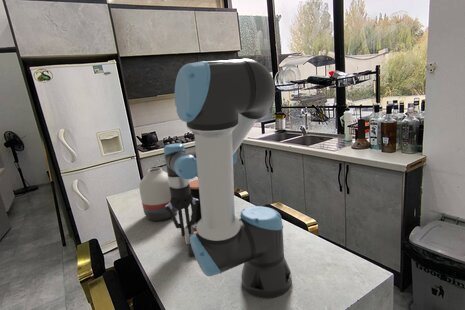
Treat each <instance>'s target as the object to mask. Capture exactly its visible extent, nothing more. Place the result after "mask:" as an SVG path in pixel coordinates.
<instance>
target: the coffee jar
mask: <svg viewBox="0 0 465 310" xmlns="http://www.w3.org/2000/svg"><path fill="white" fill-rule="evenodd" d="M189 184H190V190H191V195H192V197H193V198H195V199H196V198H197V199H198V200H199V204H198V206H197V211H196V219H195V222H199V220H200V219H201V206H200V194H199V183H198V179H195V180H191V181H189ZM192 207H193V203H192V202H191V204H190V210H191V211H192Z"/></svg>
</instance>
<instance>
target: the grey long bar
mask: <svg viewBox="0 0 465 310" xmlns="http://www.w3.org/2000/svg"><path fill="white" fill-rule="evenodd" d="M197 223H198V222H195V224H194V225H191V234H189V238H190V237H191V235H193V234H194V231H197ZM188 257H190V258H191V257H195V255H194V252H193V249H192V246H191V243H190V241H189V244H188Z"/></svg>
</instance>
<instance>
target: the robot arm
mask: <svg viewBox="0 0 465 310" xmlns="http://www.w3.org/2000/svg"><path fill="white" fill-rule="evenodd" d="M275 96H276V86H275V80H274V78H273V76H272V74H271V72H270V71H269V69H268V68H267V67H266V66H265V65H263V64H262V63H261V62H258V61H257V60H254V59H250V58H239V59H228V60H207V61H205V60H203V61H196V62H189V63H186V64H184V65H182V66H181V68H179V71H178V73H177V76H176V79H175V85H174V105H175V107H176V114H177V116H178V117H179V120H180V121H181V122H184V123H186V128H187V129H188V130H189V131H191V133H193V135H194V147H195V151H192V152H187V151H186V147H185V144H183V143H178V142H177V143H170V144H166V145H165V146H164V148H163V153H164V154H163V157H164V161H165V166H166V173H168V181H169V186H170V194H171V199H170V203H169V204H168V205H167V204H166V205H165V208H166V210H167V211H168V212H169V213H170V215H171V219H172V222H173V224H174V226H175V228H176V229H180V233H181V236H182V237H184V239H185V244H186V245H189V241H190V243H191V246H192V249H193V252H194V255H195V256H194V258H195V260H196V262H197V264H198V267H199V268H200V270H201V272H203V274H204V275H205V276H207V277H213V276H216V275H219V274H220V275H221V274H222V273H224V272H227V271H229V270H232V269H234V268H237V267H239V266H240V265H243V267H242V270H241V284H242V287H243V289H244V290H245V291H246V292H247V293H249V294H250V295H251V296H253V297H255V298H261V299H271V298H276V297H279V296H282V295H283V294H285V293H286V292H288V290H289V289H290V288H291V285H292V279H293V278H292V271H291V269H290V267H289V265H288V262H287V260H286V258H285V249H284V247H285V245H284V231H283V229H284V224H283V221H282V215H281V214H280V213H279V212H278V211H277V210H276V209H274V208H271V207H268V206H262V205H261V206H260V205H256V206H255V205H252V206H249V207H245V208H243V209H242V210H241V212H240V215H239V216H240V217H237V216H235V215H236V214H235V184H234V180H235V179H234V165H235V164H236V163H237V159H238V155H237V150H238V149H239V147H240V146H241V144H242V143H243V141H244V140H245V138H246V137H247V135H248V134H249V132H250V131H251V130H252V128H253V127H254V126H255V123H257V120H260V119H263V118H264V117H265V116H266V115H267V113H268V112H269V110H270V109H271V107H272V105H273V103H274V100H275ZM196 177H197V180H198V183H199V194H200V206H201V219H200V220H199V222H198V223H197V233H196V234H195V233H194V234H193V235H191V237H190V234H191V226H192V225H194V224H195V219H196V211H197V206H198V204H199V200H198V199H197V198H196V199H195V198H193V197H192V195H191V190H190V184H189V183H190V180H192V179H195V178H196ZM191 202H192V203H193V207H192V210H191V217H190V211H189V207H190V206H191ZM172 205H173V206H174V207H175V208H176V209H178V211H177V214H178V219H179V222H178V220H177V217H176V214H175V215H174V213H173V211H172ZM183 209H184V215H185V223H186V224H184V216H183Z"/></svg>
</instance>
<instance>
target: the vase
mask: <svg viewBox="0 0 465 310" xmlns="http://www.w3.org/2000/svg"><path fill="white" fill-rule="evenodd" d="M138 187H139V195H140V200H141V204H142V210H143V213H144V215H145V217H146V218H147V219H148V220H150V221H155V222H159V221H165V220H168V219H170V218H171V219H172V217H171V215H170V213H169V212H168V211H167V210H166V208H165V205H166V204H167V205H168V204H169V203H170V199H171V194H170V186H169V181H168V173H167V171H164V170H163V169H162V167H151V168H150V169H148V170H147V173H146V175H144V176H143V178H142V179H141V180H140V183H139V186H138ZM172 211H173V213H174V215H175V216H176V214H178V209H176V208H175V207H174V206H173V205H172Z"/></svg>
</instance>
